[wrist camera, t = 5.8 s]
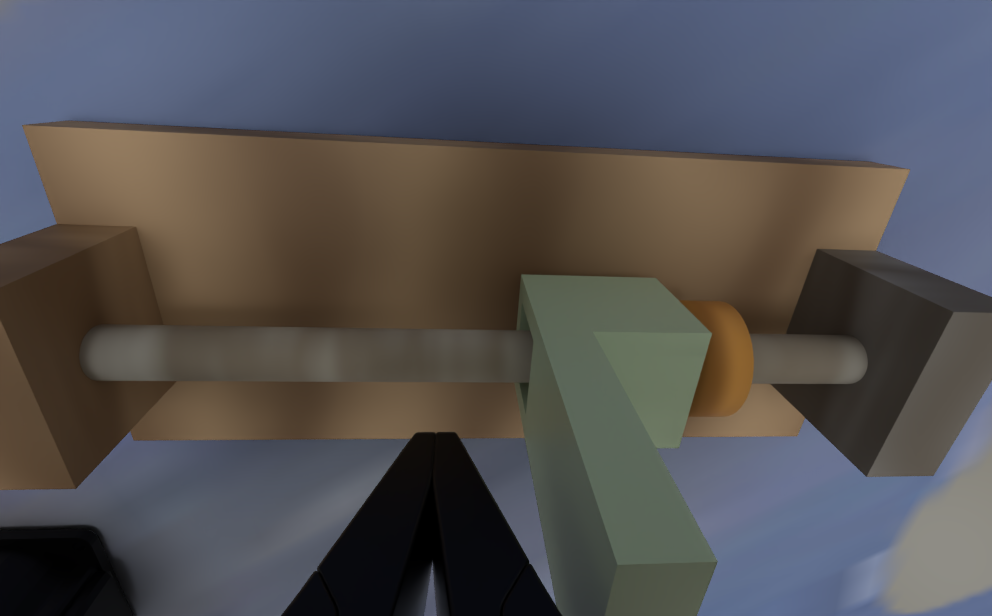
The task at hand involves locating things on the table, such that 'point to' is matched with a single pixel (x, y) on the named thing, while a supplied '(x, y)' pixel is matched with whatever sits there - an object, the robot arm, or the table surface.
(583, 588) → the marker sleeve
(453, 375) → the linear slide rail
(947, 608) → the table surface
